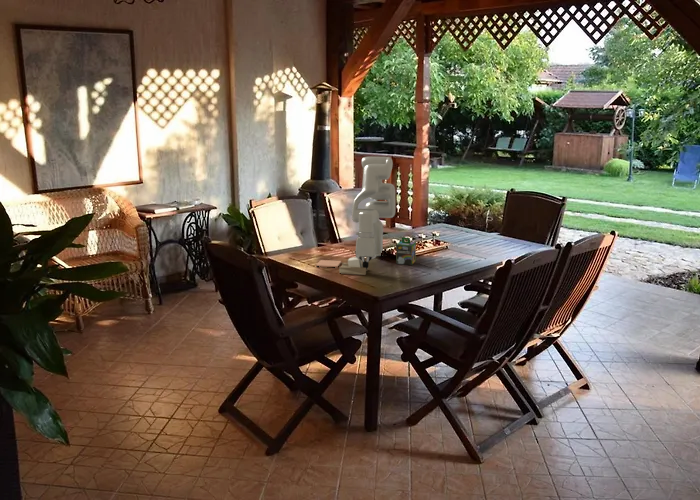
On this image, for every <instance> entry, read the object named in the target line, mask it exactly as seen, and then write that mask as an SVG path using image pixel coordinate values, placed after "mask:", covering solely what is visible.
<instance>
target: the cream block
mask: <svg viewBox="0 0 700 500" xmlns="http://www.w3.org/2000/svg"><path fill="white" fill-rule="evenodd" d="M347 263H348V265H349V267H361V268H363V267H362V264H363V262H362V260H361V259H360V258H356V256H355V257H349V258H348V259H347Z"/></svg>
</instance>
